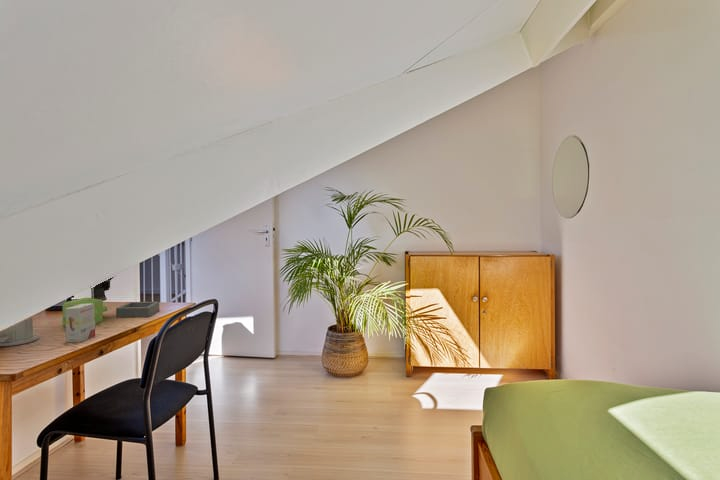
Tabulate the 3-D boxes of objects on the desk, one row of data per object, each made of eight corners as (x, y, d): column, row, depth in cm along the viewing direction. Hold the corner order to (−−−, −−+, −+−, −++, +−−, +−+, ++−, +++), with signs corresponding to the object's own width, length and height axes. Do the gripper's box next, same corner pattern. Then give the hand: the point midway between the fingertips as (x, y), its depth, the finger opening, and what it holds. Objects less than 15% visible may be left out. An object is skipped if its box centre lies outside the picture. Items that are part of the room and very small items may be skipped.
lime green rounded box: (73, 333, 150) (73, 308, 150) (51, 329, 152) (51, 305, 152) (112, 320, 168) (112, 297, 167) (92, 317, 170) (92, 295, 169)
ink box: (82, 335, 146) (81, 302, 145) (96, 335, 146) (95, 303, 145) (65, 342, 137) (64, 308, 137) (79, 342, 137) (78, 308, 137)
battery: (99, 302, 168) (100, 275, 168) (90, 302, 168) (90, 275, 168) (109, 300, 175) (110, 273, 175) (100, 299, 175) (101, 273, 175)
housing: (148, 317, 173) (148, 307, 173) (116, 317, 171) (116, 308, 171) (159, 310, 186) (159, 301, 186) (129, 310, 184) (129, 302, 184)
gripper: (74, 247, 166) (73, 291, 167) (118, 247, 169) (117, 291, 169) (84, 246, 174) (83, 289, 174) (125, 247, 176) (125, 289, 176)
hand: (100, 289), depth 172 cm, fingers closed on battery, 4 cm apart
